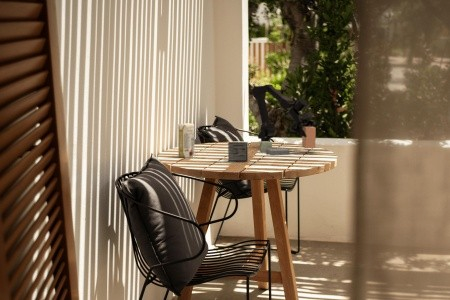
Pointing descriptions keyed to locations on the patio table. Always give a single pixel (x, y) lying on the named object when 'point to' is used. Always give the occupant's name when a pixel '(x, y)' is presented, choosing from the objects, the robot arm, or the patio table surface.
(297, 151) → the card
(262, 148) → the sage cube
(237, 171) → the patio table surface
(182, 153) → the juice carton
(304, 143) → the terracotta block
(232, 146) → the small box
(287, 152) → the slate base block
